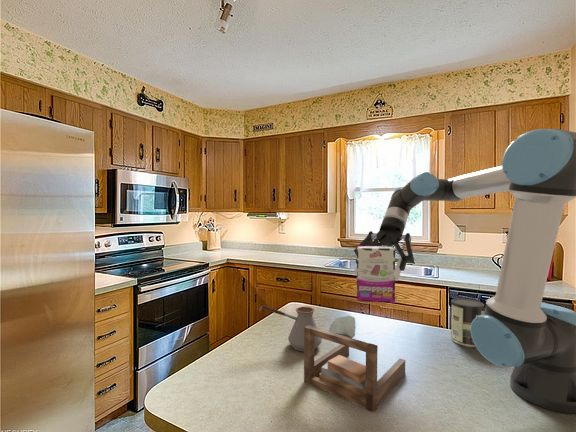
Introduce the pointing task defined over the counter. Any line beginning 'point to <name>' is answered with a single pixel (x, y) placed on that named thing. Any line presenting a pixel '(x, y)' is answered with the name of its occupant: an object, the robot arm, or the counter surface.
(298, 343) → the coffee pot
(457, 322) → the coffee can
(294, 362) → the counter surface
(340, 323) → the stone slab
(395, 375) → the offcut rack
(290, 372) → the counter surface
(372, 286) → the candy bar box
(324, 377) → the offcut stack
